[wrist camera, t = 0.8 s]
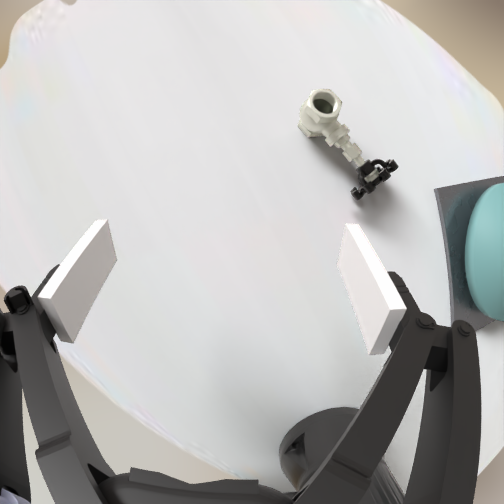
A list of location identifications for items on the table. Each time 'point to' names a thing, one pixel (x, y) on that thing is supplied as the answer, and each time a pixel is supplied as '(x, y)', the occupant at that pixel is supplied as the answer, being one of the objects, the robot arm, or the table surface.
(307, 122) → the valve
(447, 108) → the table surface
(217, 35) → the table surface
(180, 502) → the robot arm
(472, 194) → the wheel stand
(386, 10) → the table surface
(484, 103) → the table surface
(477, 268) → the handwheel
